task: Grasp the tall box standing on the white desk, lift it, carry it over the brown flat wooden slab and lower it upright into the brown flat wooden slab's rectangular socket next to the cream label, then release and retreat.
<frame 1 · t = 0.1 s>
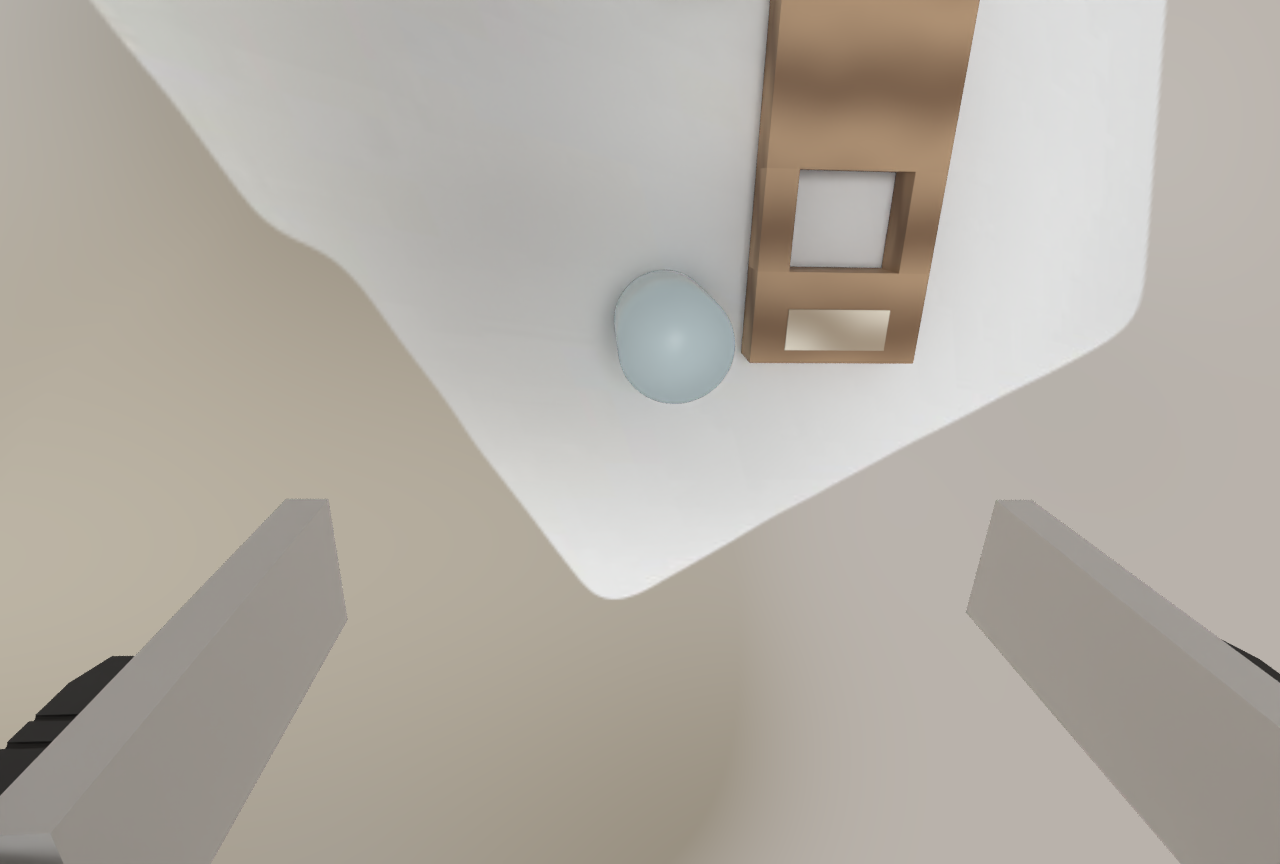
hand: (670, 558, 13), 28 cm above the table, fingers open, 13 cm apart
brown flat wooden slab: (840, 183, 37), on the table
pale blue capsule: (663, 320, 39), on the table
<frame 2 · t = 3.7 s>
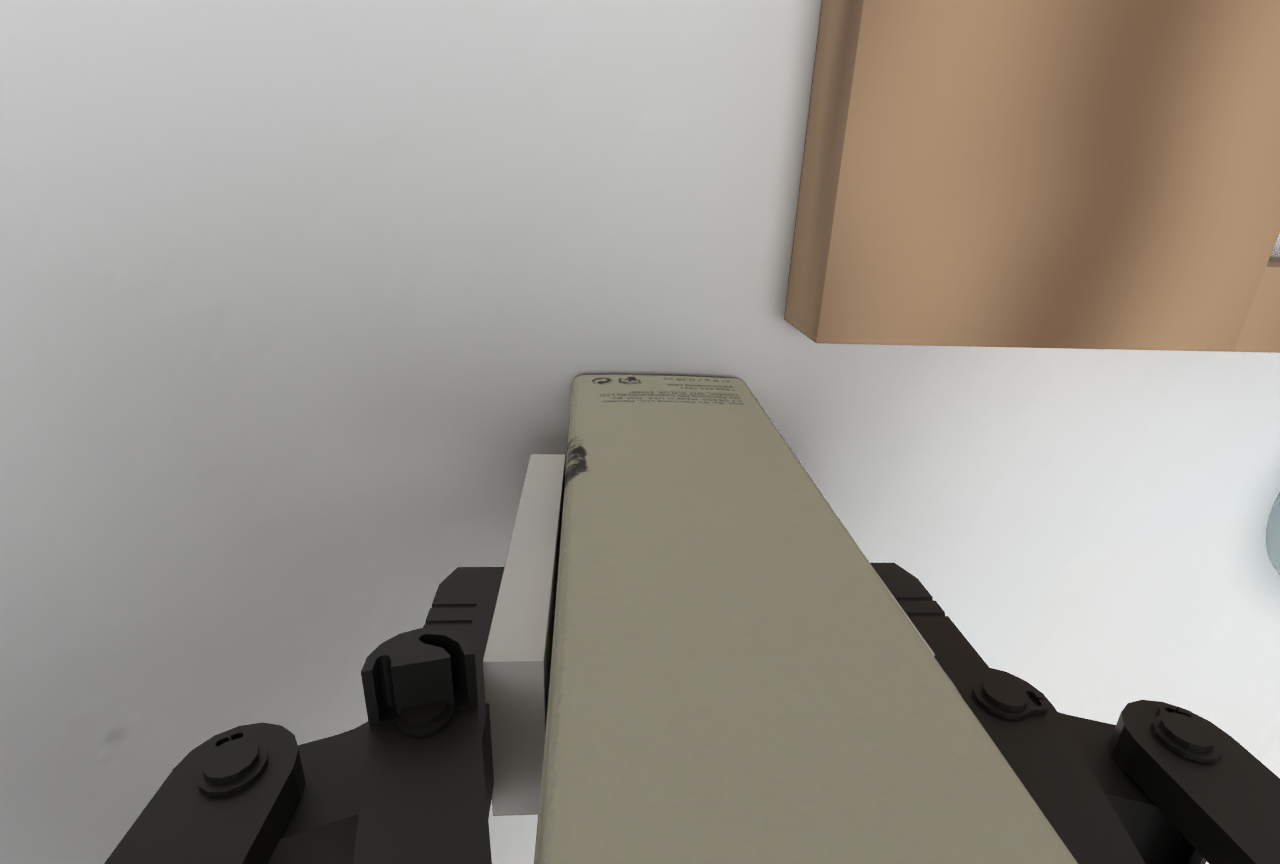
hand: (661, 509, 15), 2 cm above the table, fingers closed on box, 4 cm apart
brown flat wooden slab: (1247, 108, 14), on the table
box: (652, 466, 17), on the table, touching gripper
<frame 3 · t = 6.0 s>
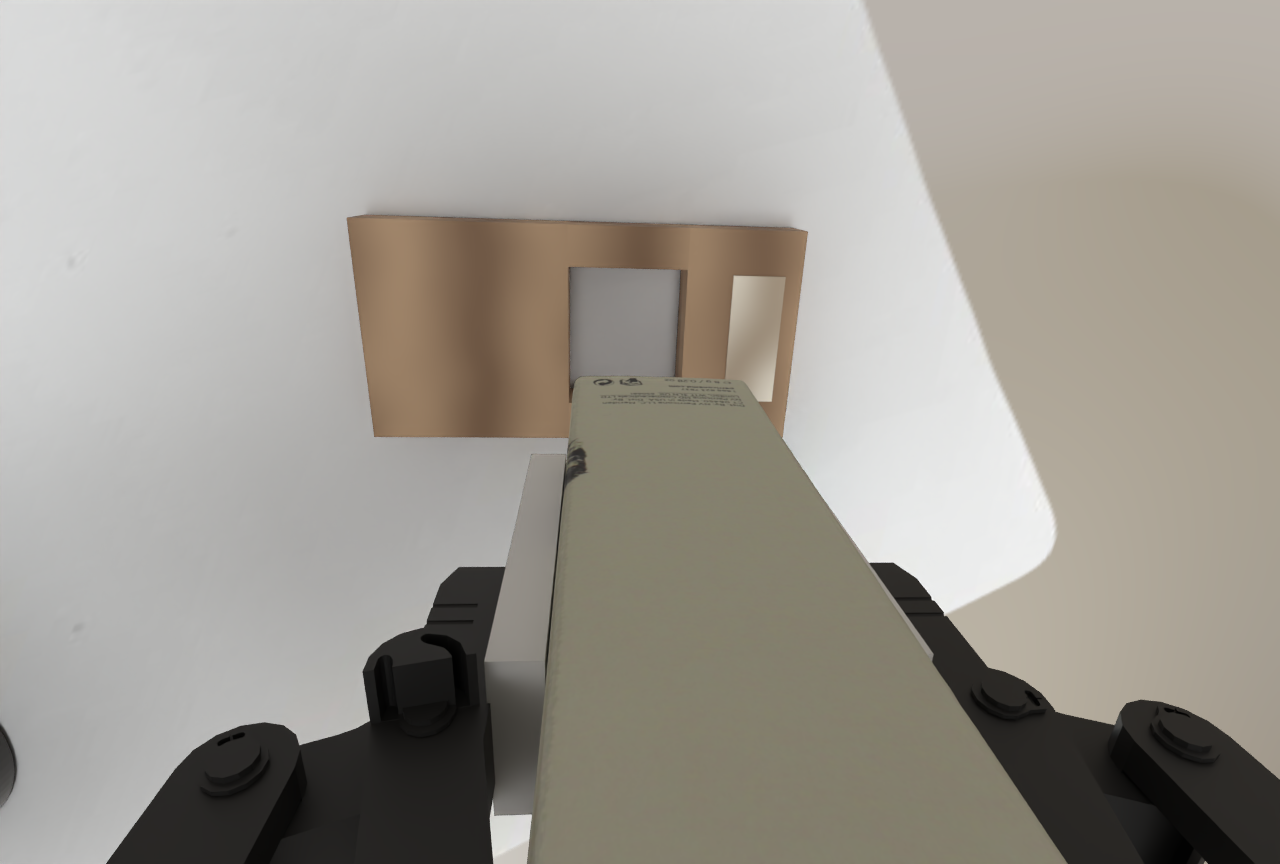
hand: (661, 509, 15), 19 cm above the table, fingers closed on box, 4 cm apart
brown flat wooden slab: (584, 326, 32), on the table
box: (654, 467, 17), point 16 cm above the table, touching gripper
when the fingers open (3 cm above the table, at t = 8.5 s): box drops 1 cm, resting in brown flat wooden slab.
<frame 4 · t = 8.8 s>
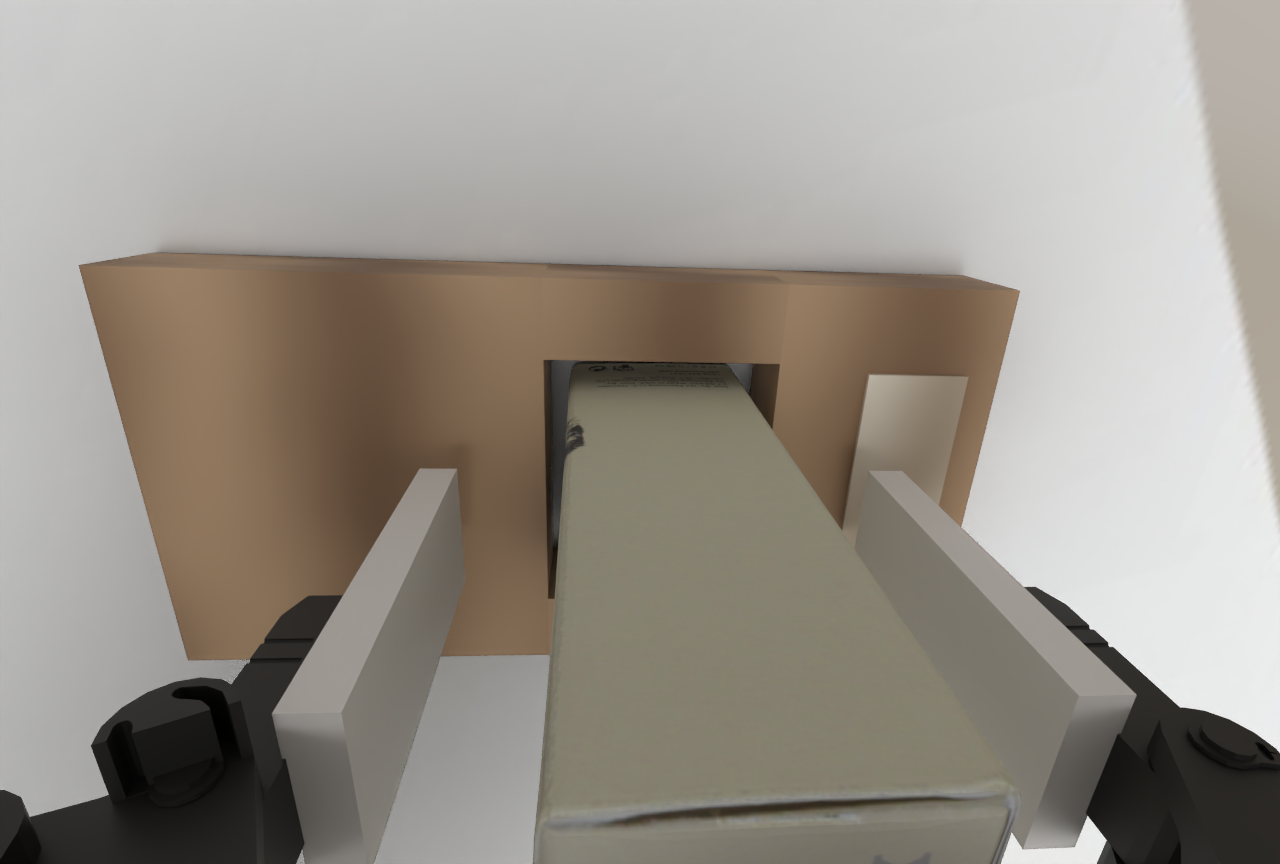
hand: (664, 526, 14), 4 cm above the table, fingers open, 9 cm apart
brown flat wooden slab: (577, 449, 18), on the table
box: (647, 448, 18), resting in brown flat wooden slab
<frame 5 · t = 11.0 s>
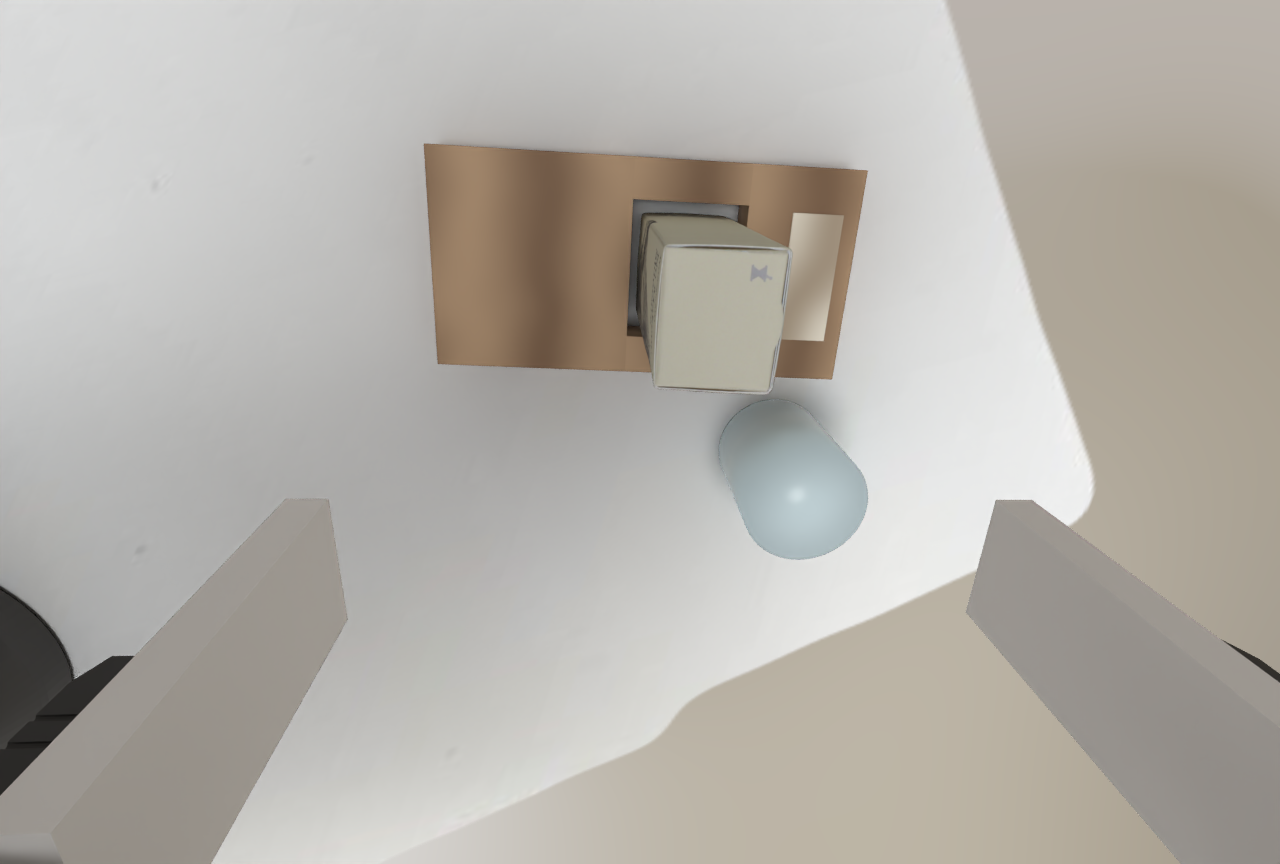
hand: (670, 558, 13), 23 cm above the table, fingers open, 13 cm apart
brown flat wooden slab: (641, 264, 33), on the table
pale blue capsule: (770, 448, 37), on the table
box: (679, 266, 33), resting in brown flat wooden slab
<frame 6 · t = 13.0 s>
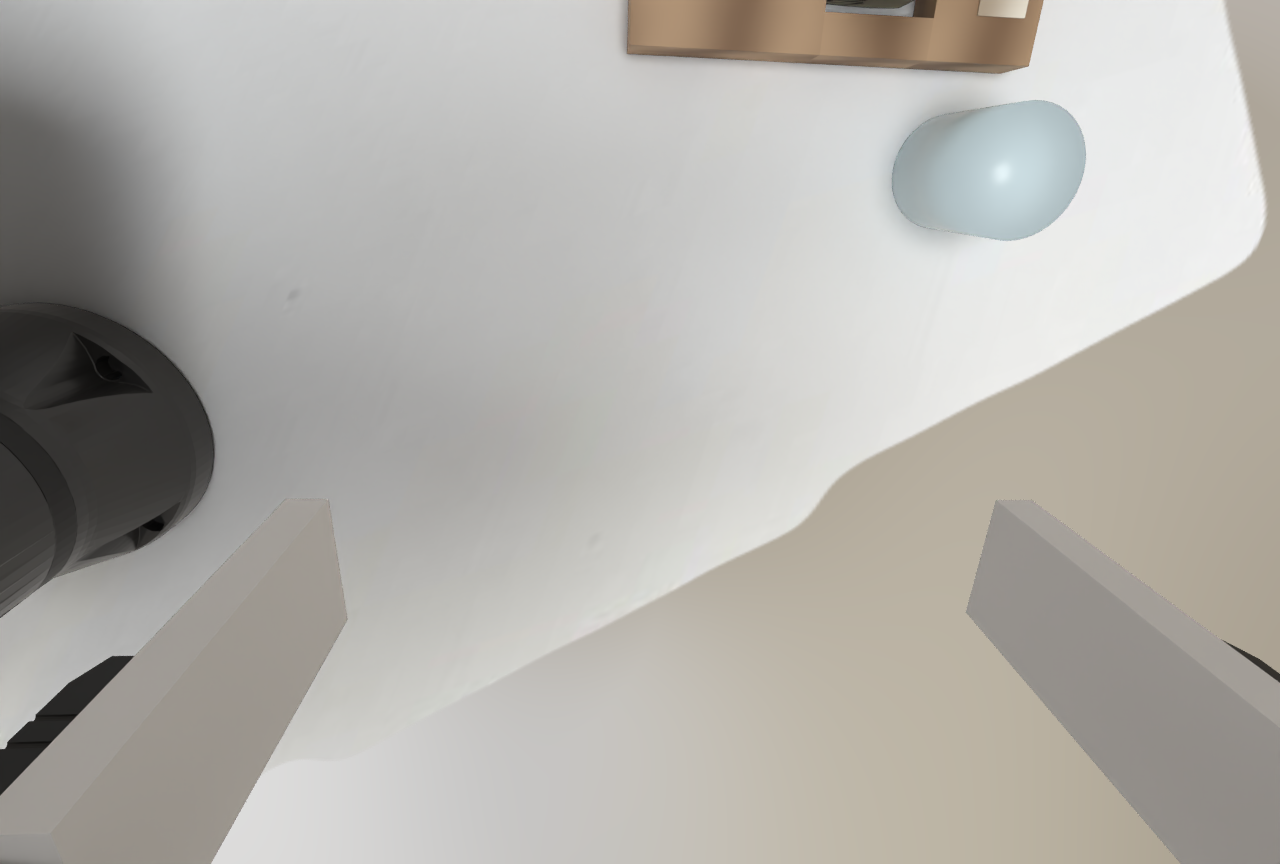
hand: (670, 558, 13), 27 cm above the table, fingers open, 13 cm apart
pale blue capsule: (944, 172, 36), on the table
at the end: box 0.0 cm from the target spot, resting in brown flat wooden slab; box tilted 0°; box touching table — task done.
